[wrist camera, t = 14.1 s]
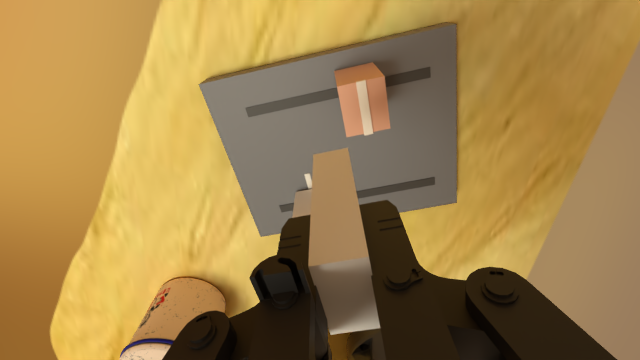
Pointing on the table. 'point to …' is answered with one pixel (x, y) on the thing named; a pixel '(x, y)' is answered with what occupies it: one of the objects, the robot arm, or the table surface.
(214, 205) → the table surface
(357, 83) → the fader
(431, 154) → the mixer board
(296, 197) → the fader
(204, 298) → the teacup with lid
